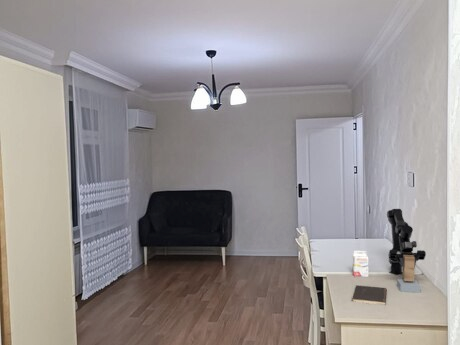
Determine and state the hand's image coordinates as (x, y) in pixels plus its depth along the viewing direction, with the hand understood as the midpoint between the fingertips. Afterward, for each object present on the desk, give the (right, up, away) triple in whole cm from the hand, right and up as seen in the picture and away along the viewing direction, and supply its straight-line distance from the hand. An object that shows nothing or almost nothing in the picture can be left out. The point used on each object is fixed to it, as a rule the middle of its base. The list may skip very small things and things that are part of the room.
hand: (409, 268), depth 248 cm
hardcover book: (-24, -14, -9) cm, 29 cm away
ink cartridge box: (-18, -11, +30) cm, 36 cm away
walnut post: (0, -7, +2) cm, 7 cm away
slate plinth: (0, -12, +2) cm, 12 cm away
